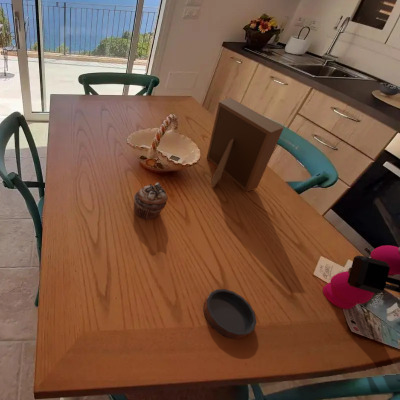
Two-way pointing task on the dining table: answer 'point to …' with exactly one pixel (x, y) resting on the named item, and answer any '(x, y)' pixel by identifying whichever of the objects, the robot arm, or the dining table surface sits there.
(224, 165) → the photo frame
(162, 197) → the cupcake
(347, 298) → the pepper mill
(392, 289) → the robot arm
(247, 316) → the tray
